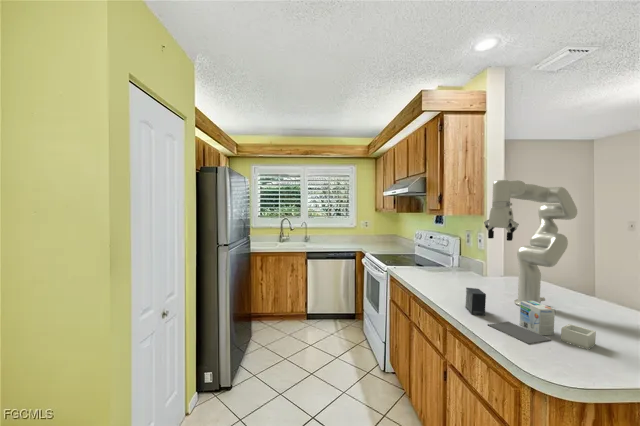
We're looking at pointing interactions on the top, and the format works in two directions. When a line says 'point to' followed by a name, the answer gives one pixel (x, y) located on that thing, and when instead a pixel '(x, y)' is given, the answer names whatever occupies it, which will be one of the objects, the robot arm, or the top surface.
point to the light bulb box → (537, 317)
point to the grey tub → (578, 336)
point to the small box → (475, 301)
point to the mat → (519, 332)
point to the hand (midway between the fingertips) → (499, 239)
